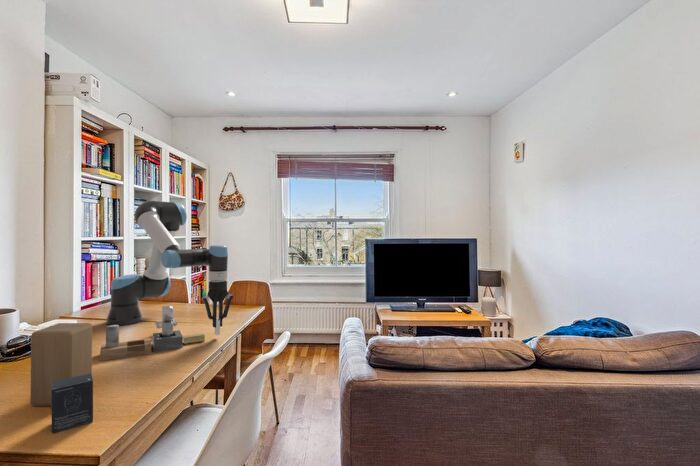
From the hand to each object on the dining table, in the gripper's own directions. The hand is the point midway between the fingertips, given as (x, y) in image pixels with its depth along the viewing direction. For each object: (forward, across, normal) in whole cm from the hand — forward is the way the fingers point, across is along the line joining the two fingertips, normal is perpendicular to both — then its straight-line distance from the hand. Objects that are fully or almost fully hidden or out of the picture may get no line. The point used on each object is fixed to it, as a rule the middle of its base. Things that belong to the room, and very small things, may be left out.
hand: (217, 334), depth 152 cm
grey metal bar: (+2, -19, 0) cm, 19 cm away
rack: (+2, -34, -2) cm, 35 cm away
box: (+2, -44, -51) cm, 68 cm away
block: (+2, -48, -34) cm, 59 cm away
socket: (+2, -19, 0) cm, 19 cm away
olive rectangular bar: (+2, -9, 0) cm, 10 cm away
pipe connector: (+2, -18, +17) cm, 25 cm away
